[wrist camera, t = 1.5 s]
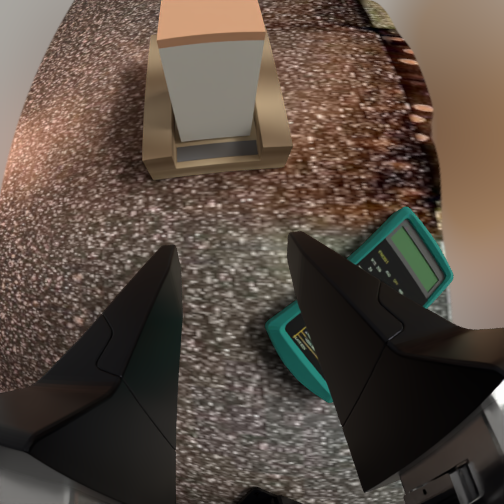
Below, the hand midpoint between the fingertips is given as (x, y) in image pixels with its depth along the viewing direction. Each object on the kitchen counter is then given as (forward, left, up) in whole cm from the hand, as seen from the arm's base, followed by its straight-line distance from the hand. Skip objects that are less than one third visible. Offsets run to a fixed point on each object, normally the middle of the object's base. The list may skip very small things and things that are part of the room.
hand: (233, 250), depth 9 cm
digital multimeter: (+4, -9, -13) cm, 17 cm away
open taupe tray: (+11, +10, -13) cm, 19 cm away
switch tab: (+9, +8, -11) cm, 16 cm away
